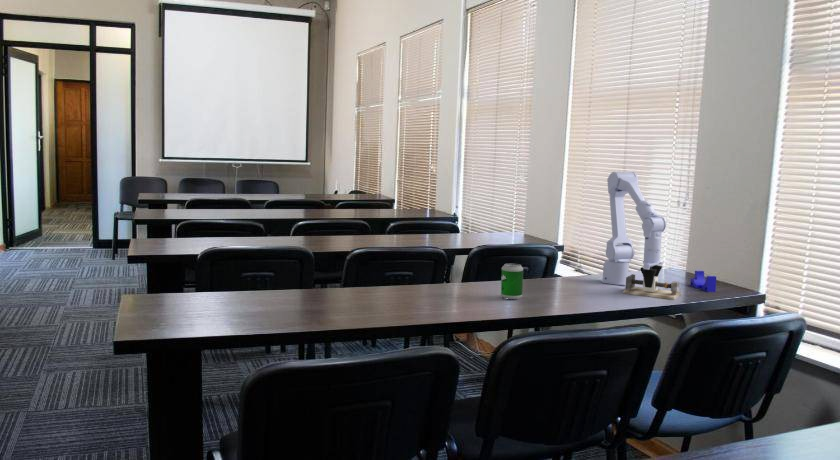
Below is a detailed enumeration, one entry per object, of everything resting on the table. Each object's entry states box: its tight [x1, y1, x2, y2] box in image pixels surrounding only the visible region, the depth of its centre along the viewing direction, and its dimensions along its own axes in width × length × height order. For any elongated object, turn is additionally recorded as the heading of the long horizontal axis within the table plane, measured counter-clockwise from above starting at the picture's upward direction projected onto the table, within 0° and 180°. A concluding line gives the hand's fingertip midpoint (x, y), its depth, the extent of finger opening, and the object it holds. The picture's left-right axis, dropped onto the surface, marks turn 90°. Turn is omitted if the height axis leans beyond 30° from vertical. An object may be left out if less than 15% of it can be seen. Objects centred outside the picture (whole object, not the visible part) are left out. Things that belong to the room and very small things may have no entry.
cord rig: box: [623, 273, 681, 301], centre depth 240 cm, size 18×10×6 cm, turn 56°
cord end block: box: [642, 275, 659, 292], centre depth 241 cm, size 4×5×5 cm
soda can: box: [500, 263, 524, 300], centre depth 231 cm, size 8×8×12 cm
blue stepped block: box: [689, 270, 717, 293], centre depth 251 cm, size 12×4×6 cm, turn 0°
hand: (650, 286), depth 241 cm, fingers closed on cord end block, 5 cm apart
